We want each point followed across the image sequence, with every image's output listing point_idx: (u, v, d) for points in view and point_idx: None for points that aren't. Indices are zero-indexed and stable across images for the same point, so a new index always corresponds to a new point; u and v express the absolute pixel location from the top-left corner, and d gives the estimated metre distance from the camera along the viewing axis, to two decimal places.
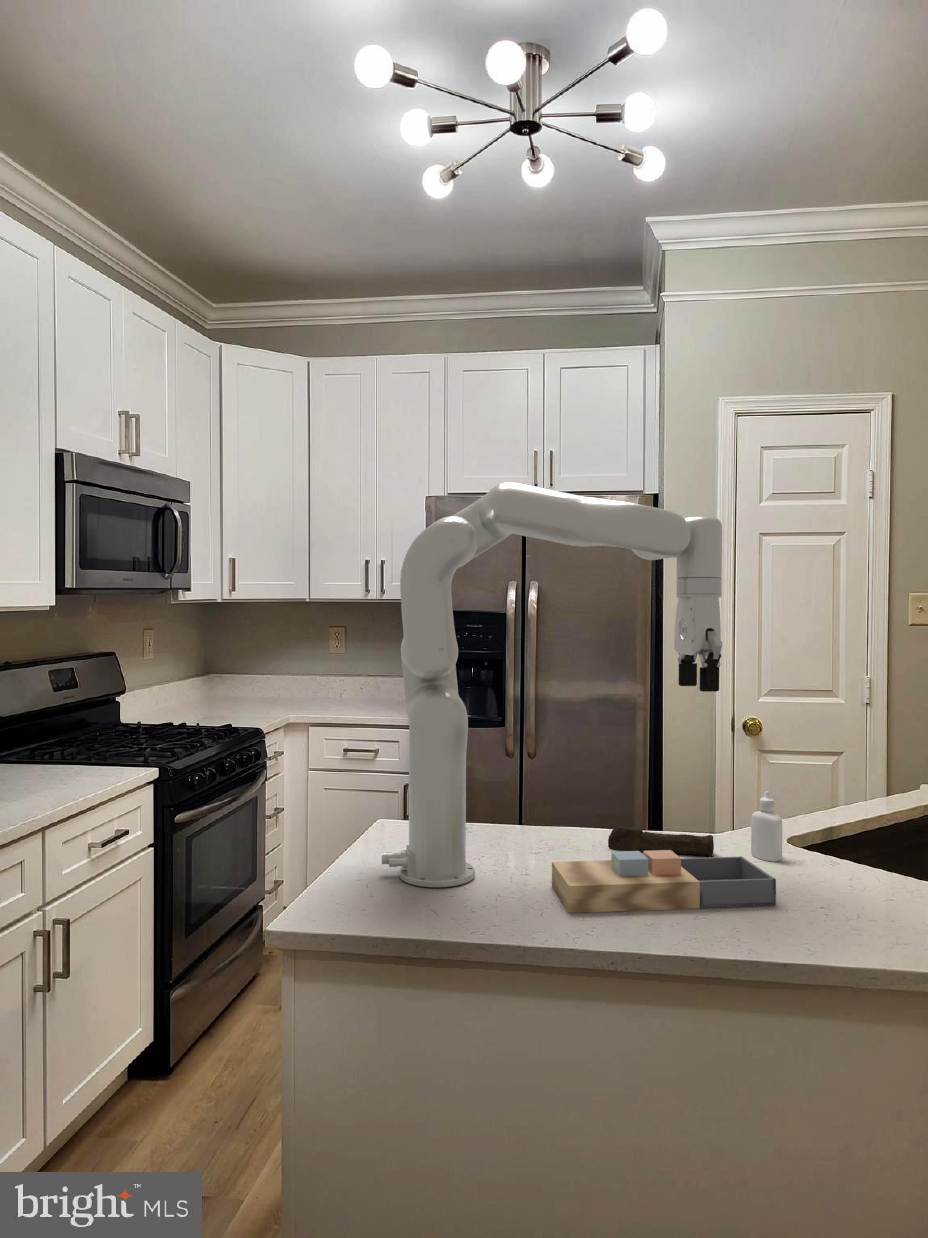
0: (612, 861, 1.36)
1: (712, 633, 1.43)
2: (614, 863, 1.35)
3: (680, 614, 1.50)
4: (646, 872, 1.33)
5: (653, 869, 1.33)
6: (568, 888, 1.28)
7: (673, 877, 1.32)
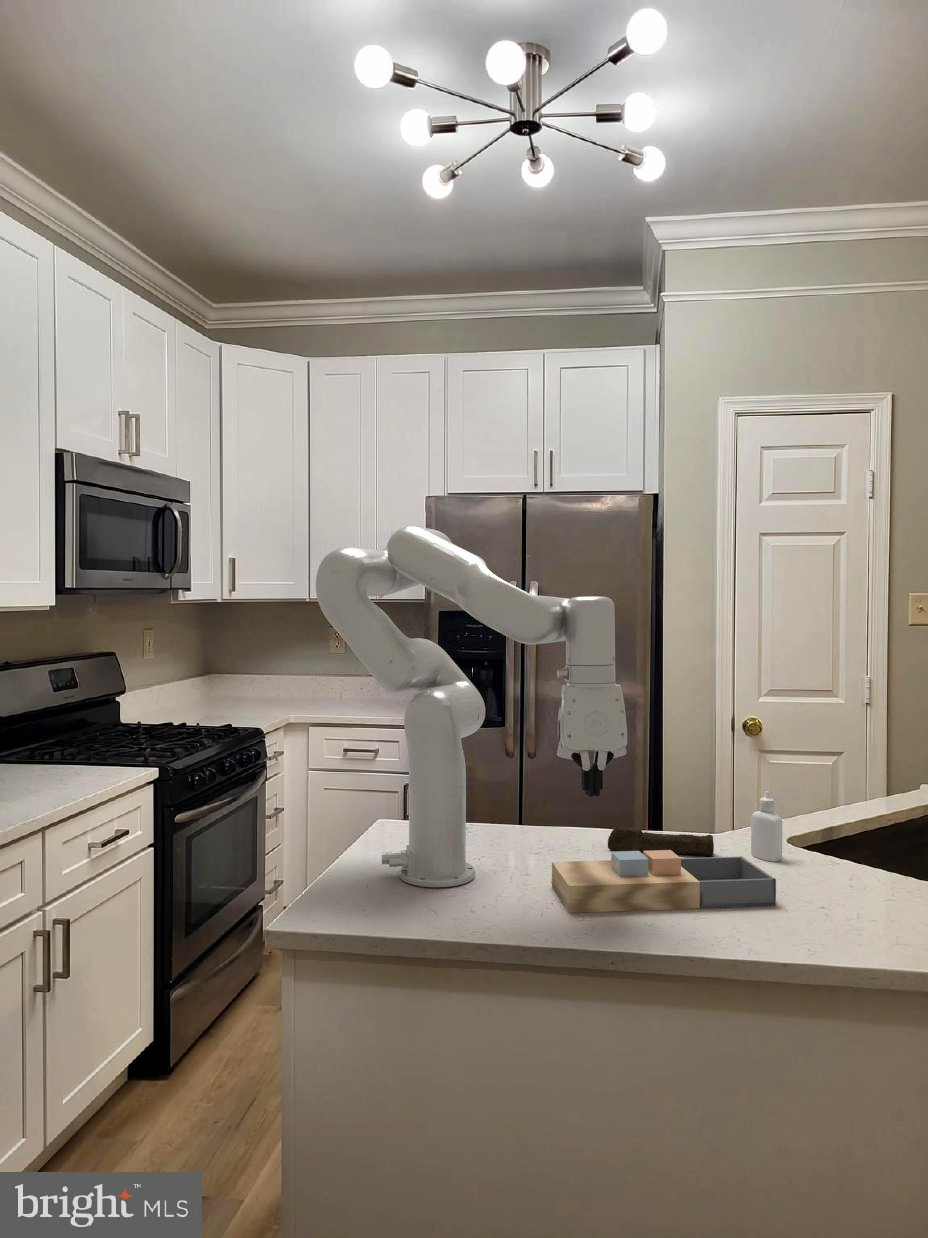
0: (612, 861, 1.36)
1: None
2: (614, 863, 1.35)
3: (587, 706, 1.31)
4: (646, 872, 1.33)
5: (653, 869, 1.33)
6: (568, 888, 1.28)
7: (673, 877, 1.32)
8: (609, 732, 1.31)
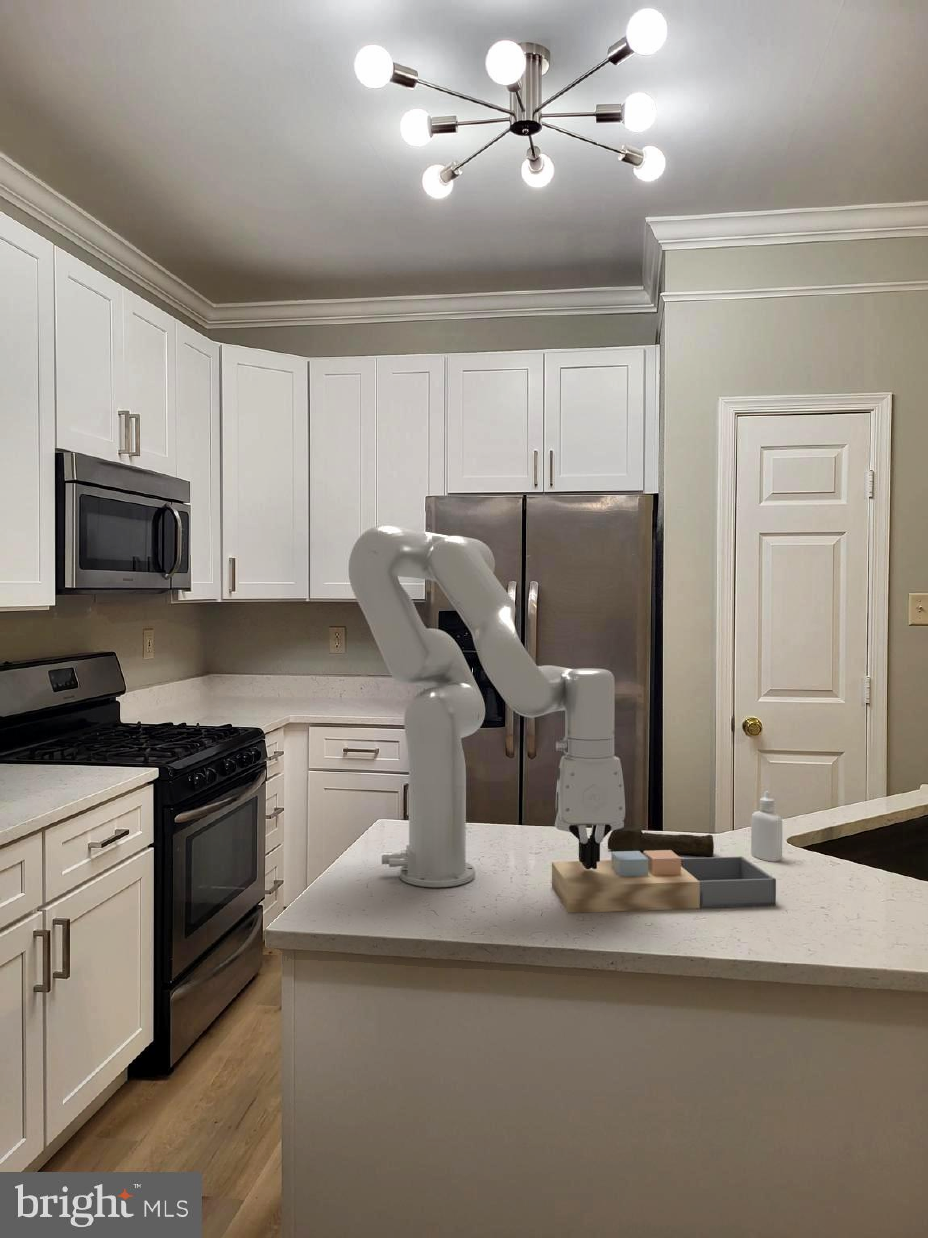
0: (612, 861, 1.36)
1: None
2: (614, 863, 1.35)
3: (586, 780, 1.31)
4: (646, 872, 1.33)
5: (653, 869, 1.33)
6: (568, 888, 1.28)
7: (673, 877, 1.32)
8: (607, 806, 1.31)
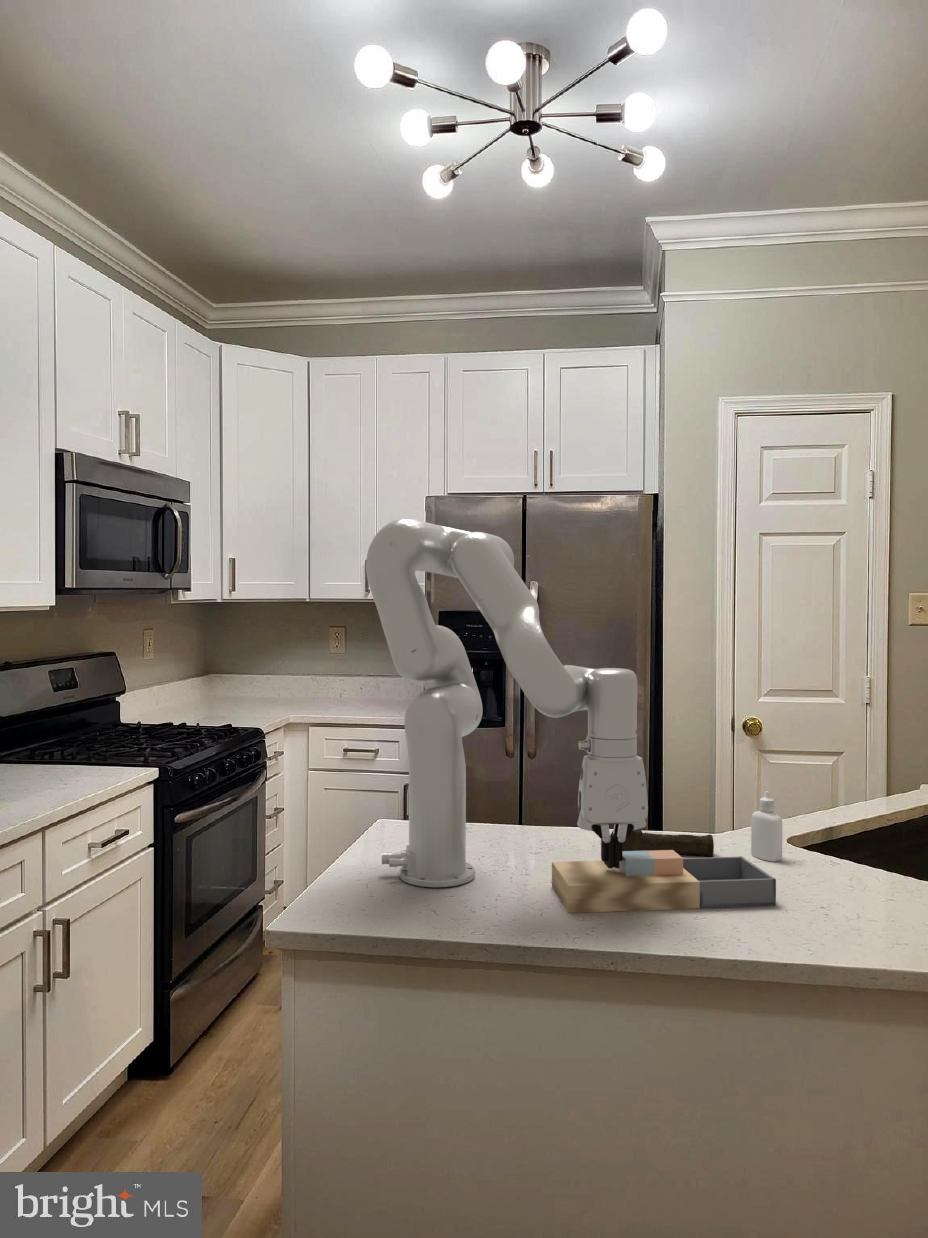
0: None
1: None
2: (620, 863, 1.35)
3: (609, 779, 1.31)
4: (653, 872, 1.33)
5: (655, 869, 1.33)
6: (568, 888, 1.28)
7: (673, 877, 1.32)
8: (630, 805, 1.32)
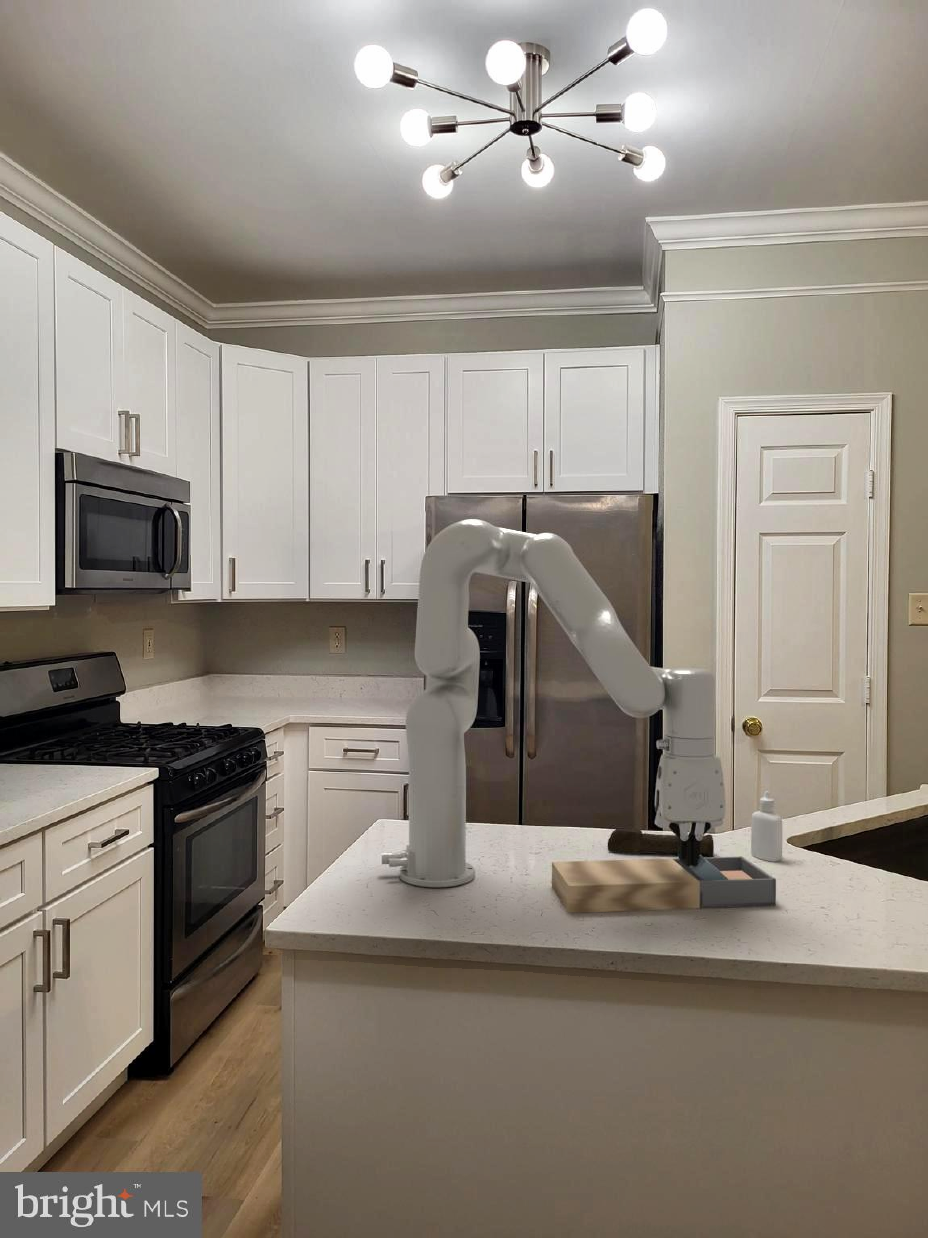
0: None
1: None
2: None
3: (688, 778, 1.33)
4: None
5: None
6: (568, 888, 1.28)
7: (673, 877, 1.32)
8: (708, 804, 1.33)
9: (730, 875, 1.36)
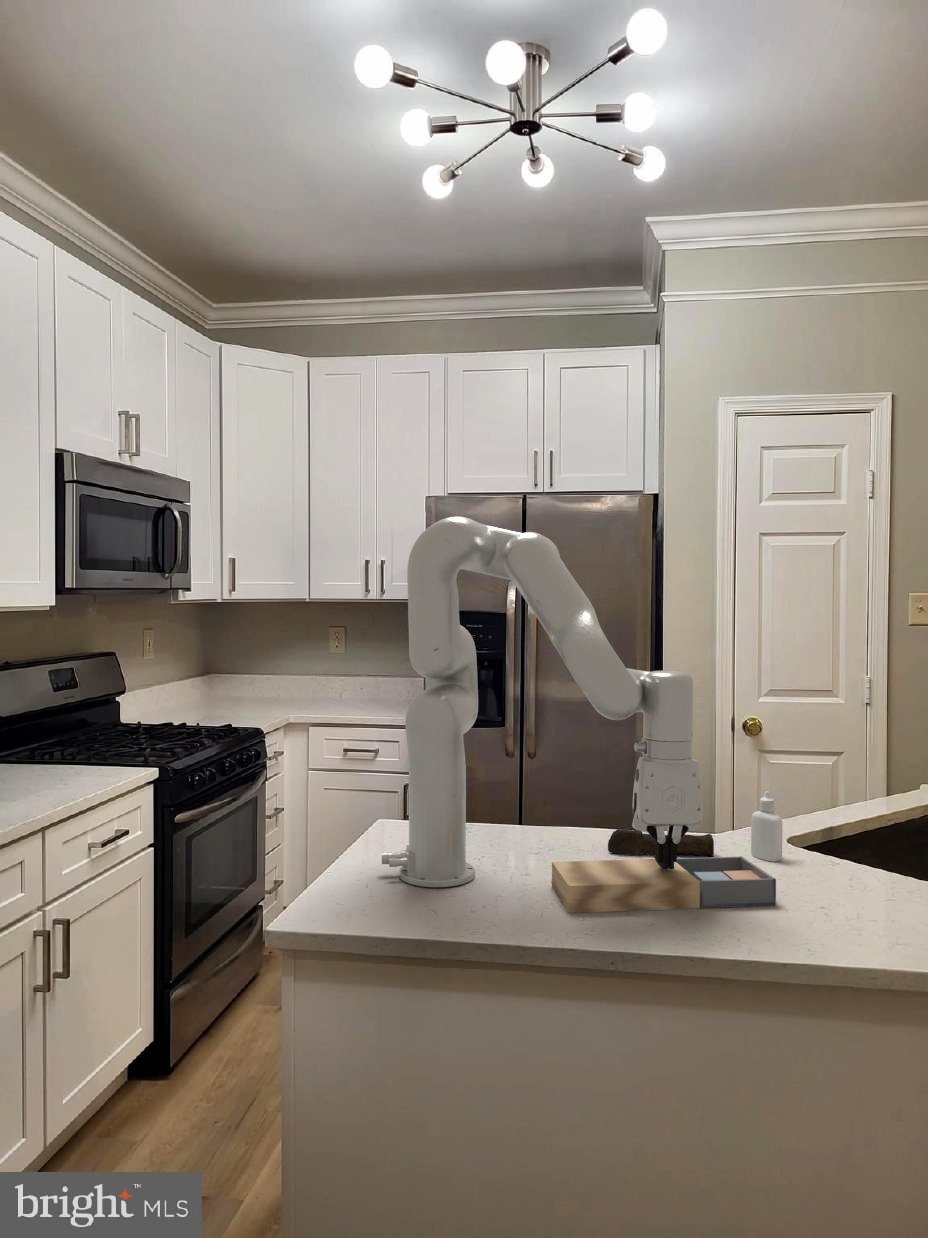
0: None
1: None
2: None
3: (665, 781, 1.32)
4: None
5: None
6: (568, 888, 1.28)
7: (673, 877, 1.32)
8: (685, 807, 1.33)
9: (738, 875, 1.36)
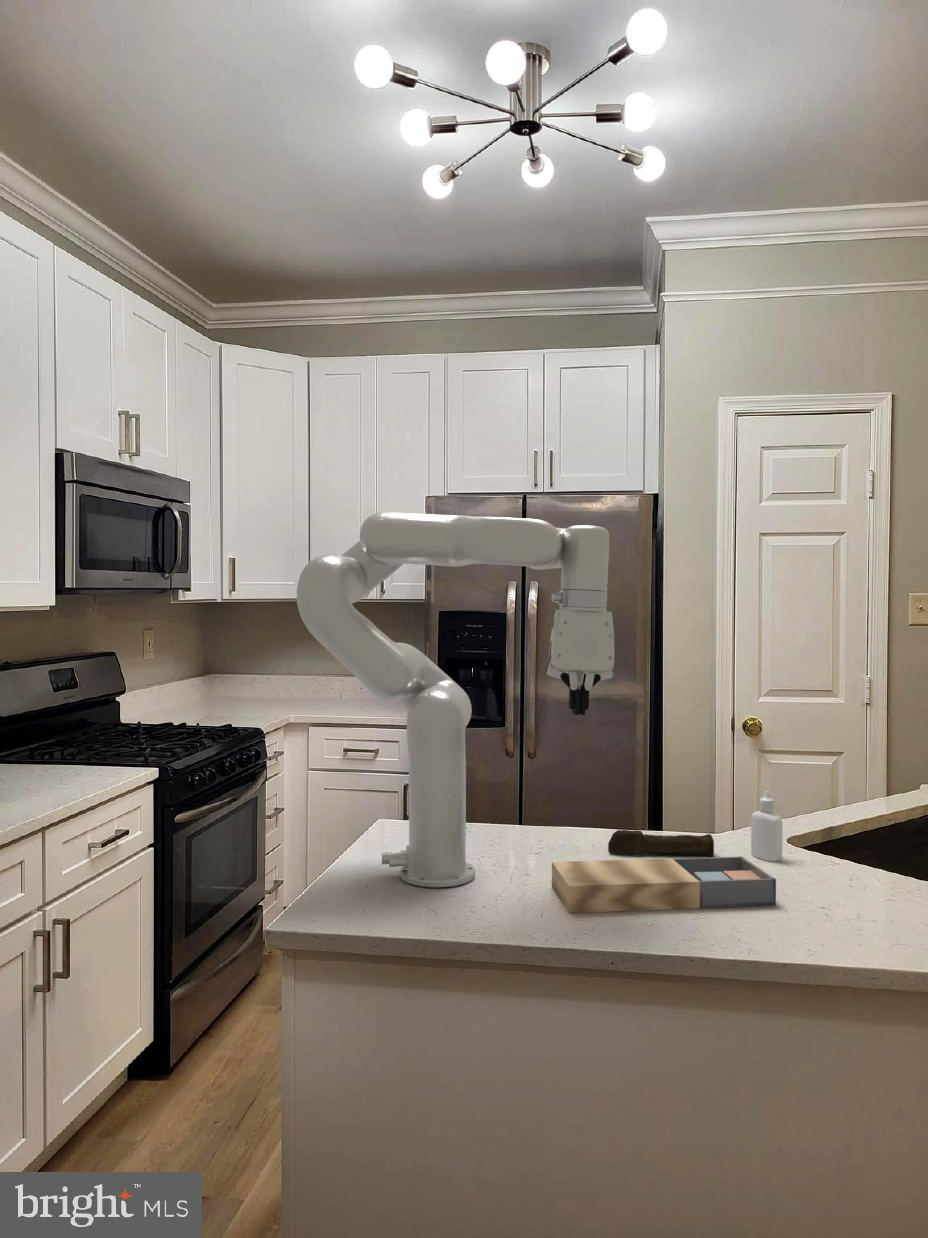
0: None
1: None
2: None
3: (578, 628, 1.38)
4: None
5: None
6: (568, 888, 1.28)
7: (673, 877, 1.32)
8: (597, 654, 1.39)
9: (738, 875, 1.36)
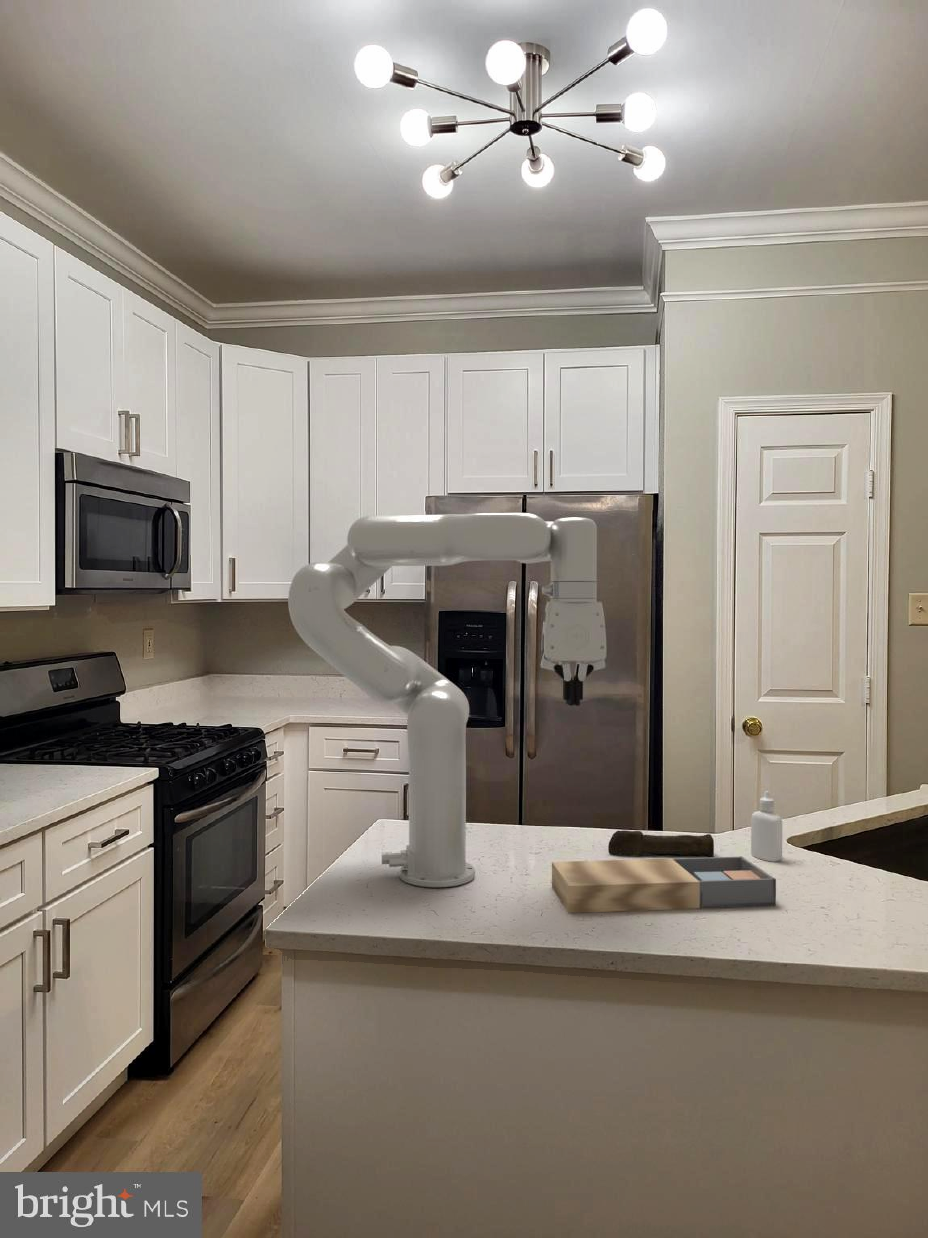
0: None
1: None
2: None
3: (570, 619, 1.39)
4: None
5: None
6: (568, 888, 1.28)
7: (673, 877, 1.32)
8: (589, 644, 1.40)
9: (738, 875, 1.36)
